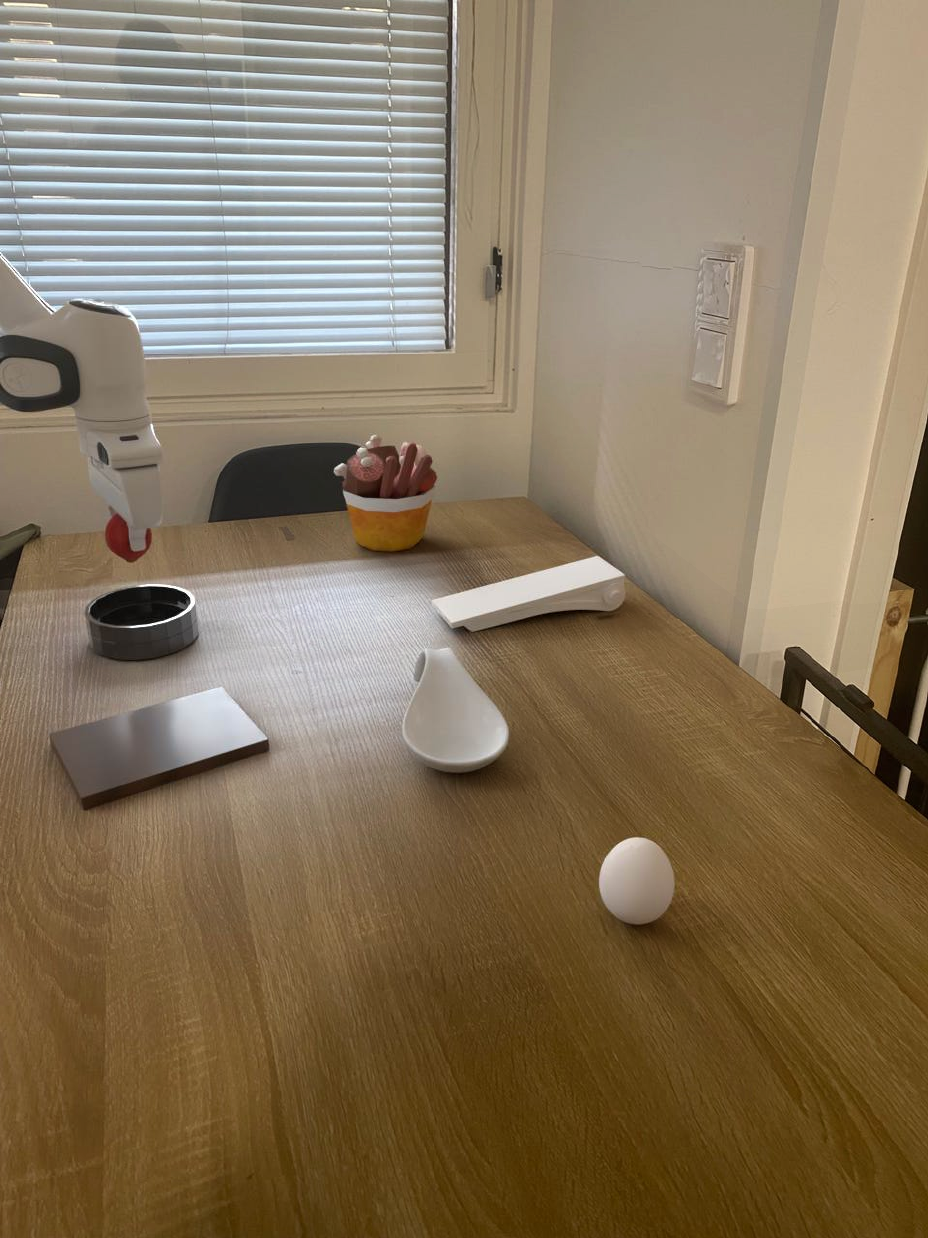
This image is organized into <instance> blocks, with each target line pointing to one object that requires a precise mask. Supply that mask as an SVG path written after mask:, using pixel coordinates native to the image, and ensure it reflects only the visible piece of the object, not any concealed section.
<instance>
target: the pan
mask: <svg viewBox="0 0 928 1238" xmlns="http://www.w3.org/2000/svg"><path fill="white" fill-rule="evenodd" d="M84 619H85V625H86V631H87V637H88V644H89V646H90V647H91V649H92V650H93V652H94V653H97V654H99V655H101V656H102V657H105V658H110V659H114V660H119V661H120V660H121V661H122V660H123V661H141V660H150V659H155V658H160V657H163V656H168V655H171V654H173V653H175V652H178V651H180V650H183V649H185V648H186V647H187V646H189V645H190V644H192V643H193V642H195V640H196V638H197V637H198V635H199V624H198V615H197V606H196V597H195V596H194V595H193V594H192V593H191V592H190V591H189V590H187V589H185V588H181V587H179V586H174V585H168V584H142V585H141V584H139V585H131V586H126V587H121V588H116V589H113V590H110V591H108V592H105V593H102V594H101V595H99V596H97V597H95V598H93V599H92V600H91V601H89V603H88V604H87V605H86V606H85V609H84Z"/></svg>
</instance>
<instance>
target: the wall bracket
mask: <svg viewBox="0 0 928 1238" xmlns="http://www.w3.org/2000/svg"><path fill="white" fill-rule="evenodd" d="M625 581H626V574H625V573H623V572H622V571H621V570H619V569H617V568H616V567H615V566H613V565H612V564H610V563H609V562H607V561H606V560H605V559H603V558H602V557H600V556H599V555H595V556H592V557H588V558H585V559H580V560H577V561H573V562H569V563H565V564H562V565H558V566H555V567H551V568H550V567H549V568H547V569H544V570H539V571H536V572H531V573H529V574H524V575H521V576H516V577H512V578H509V579H506V580H502V581H497V582H494V583H490V584H486V585H483V586H479V587H476V588H475V587H474V588H472V589H468V590H464V591H461V592H457V593H453V594H450V595H446V596H442V597H437V598H435V599H431V606H432V608H434V609H435V611H436V612H437V613H438V614H439V616H440V617H442V619H443V620H444V621H445V622H446V623H447V624H448V626H449V627H450V628H451V629H455V628H459V627H465V628H466V629H467V630H469V631H470V632H471V633H473V632H478V631H481V630H484V629H489V628H493V627H496V626H500V625H504V624H509V623H512V622H516V621H519V620H524V619H527V618H530V617H535V616H538V615H539V616H540V615H543V614H548V613H555V612H556V613H557V612H563V611H575V610H576V611H577V610H578V611H579V610H583V611H584V610H585V611H586V610H587V611H600V612H601V611H603V612H612V611H615V610H616V609H618V608H619V607H620V606H621V605H622V604H623V603H624V601H625V599H626V593H627V592H626V588H625Z"/></svg>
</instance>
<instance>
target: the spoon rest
mask: <svg viewBox="0 0 928 1238" xmlns="http://www.w3.org/2000/svg"><path fill="white" fill-rule="evenodd" d="M413 680H414V681H415V682H417V683H418V684H417V686H416V688H415V690H414V692H413V695H412V697H411V699H410V701H409V703H408V705H407V707H406V710H405V713H404V716H403V720H402V723H401V724H402V725H401V736H402V740H403V742H404V744H405V746H406V747H407V749H408V751H410V753H411V754H412V756H414V757H415V758H416V759H417V760H418V761H419V762H421V764H424V765H426V766H427V767H429V768H432V769H434V770H437V771H441V772H444V773H453V774H455V773H456V774H457V773H459V774H461V773H468V772H473V771H476V770H480V769H482V768H484V767H487V766H488V765H490V764H492V763H493V762H494V761H496V760H497V759H498V758H499V757H500V756H501V755H502V754H503V753H504V752H505V750H506V749H507V746H508V744H509V741H510V729H509V725H508V723H507V721H506V719H505V718H504V716H503V714H502V712H501V711H500V710H499V708H498V707H497V706H496V704H495V703H494V702H493V701H492V700H491V698H490V697H489V696H488V695H487V694H486V693H485V691H484V690H483V689H482V688H481V687H480V686H479V684H478V683H477V682H476V681H475V679H474V678H473V677H472V676H471V675H470V673H469V672H468V671H467V670H466V669H465V667H464V665H463V664H462V663H461V662H460V660H459V658H458V657H457V656H456V654H455V652H454V651H453V649H452V648H450V647H443V648H437V649H431V648H423V649H422V650H421V651H420V653H419V654H418V657H417V660H416V662H415V667H414V671H413Z"/></svg>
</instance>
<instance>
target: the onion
mask: <svg viewBox="0 0 928 1238" xmlns="http://www.w3.org/2000/svg"><path fill="white" fill-rule="evenodd" d="M128 535H129V527H128V526H127V522H126V521H125V520H124V519H123V518H122V517H121V516H120V515H119V514H118V513H117V514H115V515H114V516H113V517H112V518H110V519H109V521H108V522H107V523H106V526H105V531H104V540H105V544H106V546H107V548H108V549H109V551H110V552H112V553H113V554H114V555H116V556H118V557H119V558H121V559H123V560H125V562H126V563H128V564H133V563H135V562H137V561H138V560H139V559H140V558H142V557H143V556H145V554H146V553H147V552H148V551H149V549H150V547H151V545H152V541H153V540H152V539H153V532H152V528H147V530H146V535H145V543H146V548H145V549H144V550H141V551H133V550H132V549H131V548H130V547H129V545H128V537H127V536H128Z"/></svg>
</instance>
